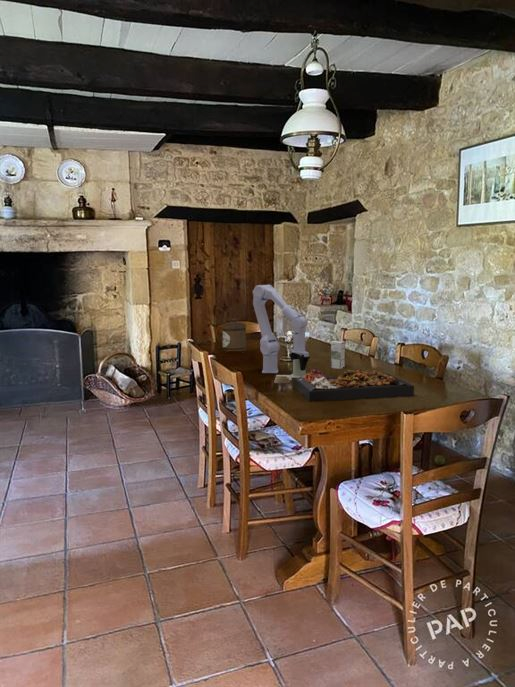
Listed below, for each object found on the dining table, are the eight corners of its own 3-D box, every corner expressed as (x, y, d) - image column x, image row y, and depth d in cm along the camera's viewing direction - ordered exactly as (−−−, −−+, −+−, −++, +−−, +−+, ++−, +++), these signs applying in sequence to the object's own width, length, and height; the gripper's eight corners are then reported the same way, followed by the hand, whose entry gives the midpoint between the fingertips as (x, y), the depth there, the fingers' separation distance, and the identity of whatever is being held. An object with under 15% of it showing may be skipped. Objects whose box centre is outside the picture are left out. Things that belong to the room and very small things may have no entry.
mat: (291, 374, 249) (291, 373, 249) (306, 374, 248) (306, 373, 248) (291, 377, 242) (291, 377, 241) (307, 378, 241) (307, 377, 241)
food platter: (309, 402, 200) (309, 377, 199) (293, 388, 224) (294, 365, 223) (413, 396, 208) (414, 371, 207) (388, 382, 232) (388, 361, 231)
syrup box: (344, 367, 265) (345, 340, 263) (340, 369, 260) (341, 342, 258) (334, 366, 268) (335, 339, 266) (330, 368, 263) (330, 341, 260)
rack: (275, 377, 242) (275, 374, 242) (291, 378, 241) (291, 374, 241) (275, 380, 237) (275, 377, 237) (291, 380, 236) (291, 377, 236)
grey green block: (292, 375, 245) (292, 359, 243) (303, 374, 247) (303, 358, 246) (294, 376, 243) (295, 360, 242) (305, 375, 245) (305, 359, 244)
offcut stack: (274, 382, 233) (274, 375, 233) (289, 382, 233) (289, 375, 233) (274, 383, 231) (274, 376, 231) (289, 383, 231) (289, 376, 230)
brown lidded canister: (221, 351, 319) (220, 317, 315) (244, 350, 321) (244, 316, 318) (224, 355, 304) (223, 319, 301) (248, 354, 307) (247, 319, 303)
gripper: (284, 340, 247) (284, 367, 249) (299, 344, 234) (299, 372, 236) (297, 339, 250) (297, 365, 252) (312, 343, 237) (312, 371, 239)
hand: (299, 369), depth 244 cm, fingers open, 7 cm apart
